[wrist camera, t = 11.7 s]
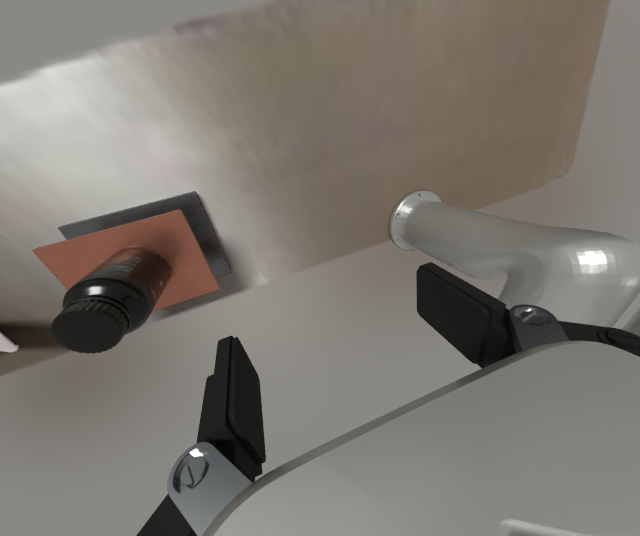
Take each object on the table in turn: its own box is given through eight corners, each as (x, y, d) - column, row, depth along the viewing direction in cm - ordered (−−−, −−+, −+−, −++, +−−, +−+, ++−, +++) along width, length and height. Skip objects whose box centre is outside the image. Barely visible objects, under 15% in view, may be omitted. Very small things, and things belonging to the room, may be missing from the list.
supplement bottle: (169, 296, 33) (137, 361, 22) (108, 292, 30) (39, 364, 20) (171, 251, 30) (135, 301, 20) (104, 243, 28) (24, 295, 17)
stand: (195, 191, 35) (183, 200, 28) (231, 269, 42) (229, 292, 35) (63, 225, 32) (14, 245, 25) (124, 303, 39) (99, 336, 32)
